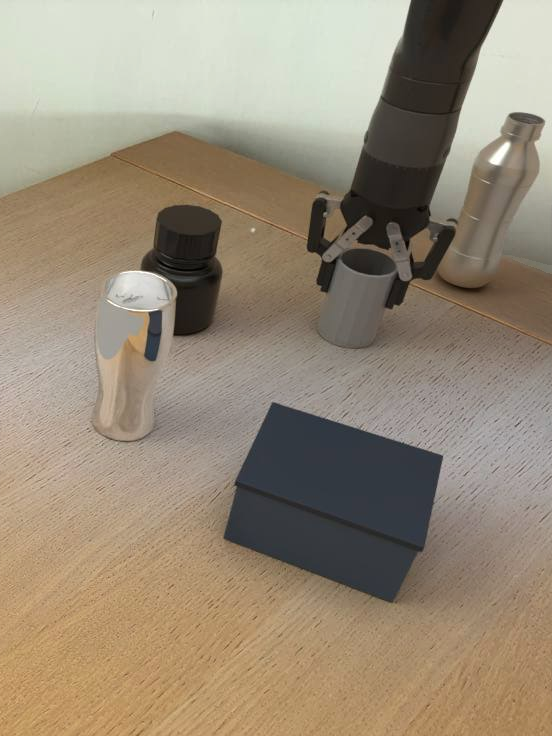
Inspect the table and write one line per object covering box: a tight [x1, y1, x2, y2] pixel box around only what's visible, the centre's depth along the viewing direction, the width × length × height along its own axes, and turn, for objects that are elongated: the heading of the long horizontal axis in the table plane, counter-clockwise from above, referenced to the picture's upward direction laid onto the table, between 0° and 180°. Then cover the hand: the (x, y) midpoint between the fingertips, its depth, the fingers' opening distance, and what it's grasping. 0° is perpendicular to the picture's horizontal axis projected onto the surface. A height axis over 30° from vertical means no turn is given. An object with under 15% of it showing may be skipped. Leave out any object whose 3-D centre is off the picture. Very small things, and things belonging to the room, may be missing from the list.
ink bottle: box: [139, 204, 224, 335], centre depth 91 cm, size 10×9×12 cm
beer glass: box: [91, 269, 177, 442], centre depth 76 cm, size 7×7×15 cm
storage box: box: [223, 401, 444, 604], centre depth 68 cm, size 14×11×7 cm
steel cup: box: [316, 246, 398, 349], centre depth 90 cm, size 6×6×9 cm
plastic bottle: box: [436, 111, 546, 289], centre depth 94 cm, size 6×7×20 cm
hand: (356, 296), depth 89 cm, fingers closed on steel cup, 6 cm apart
